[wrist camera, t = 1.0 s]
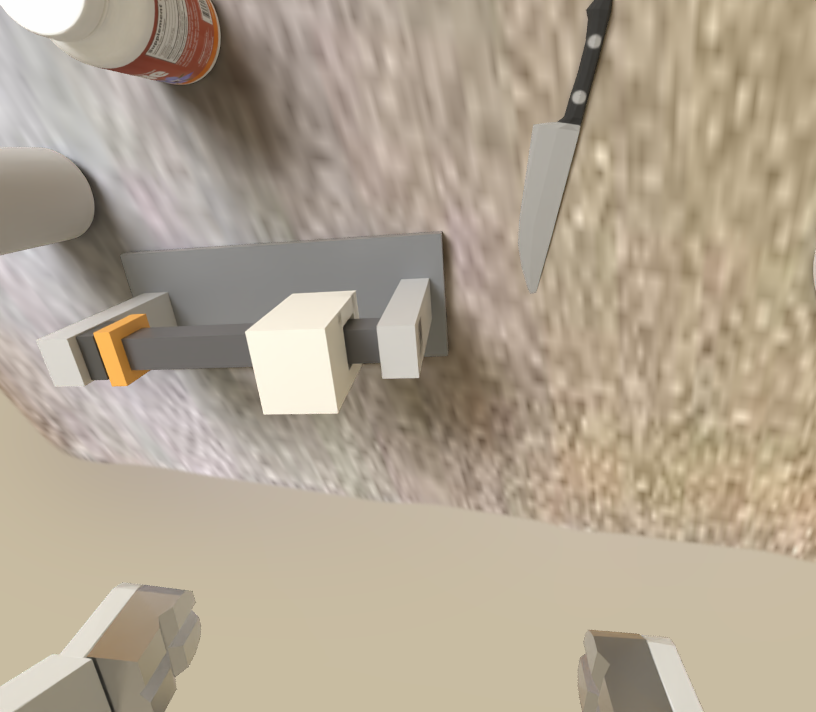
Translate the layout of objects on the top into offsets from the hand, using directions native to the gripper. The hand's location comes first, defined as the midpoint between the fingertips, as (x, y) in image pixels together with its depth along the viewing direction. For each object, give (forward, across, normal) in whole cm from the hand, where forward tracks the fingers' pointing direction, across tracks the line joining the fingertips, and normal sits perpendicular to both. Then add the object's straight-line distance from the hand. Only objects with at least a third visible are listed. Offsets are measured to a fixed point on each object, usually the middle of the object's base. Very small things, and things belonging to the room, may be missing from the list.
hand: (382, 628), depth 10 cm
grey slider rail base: (+27, +12, +2) cm, 30 cm away
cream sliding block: (+21, +7, +1) cm, 22 cm away
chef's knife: (+28, -6, -8) cm, 30 cm away
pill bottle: (+28, +17, -16) cm, 36 cm away
